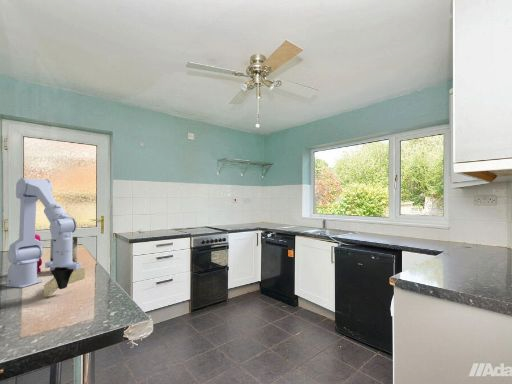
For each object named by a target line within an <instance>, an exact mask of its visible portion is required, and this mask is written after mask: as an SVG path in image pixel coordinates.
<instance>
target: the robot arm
mask: <svg viewBox="0 0 512 384" xmlns="http://www.w3.org/2000/svg"><path fill="white" fill-rule="evenodd" d="M52 191H53V183H52V182H51V180H50V179H46V178H45V179H42V178H41V179H39V178H38V179H37V178H26V177H25V178H24V177H20V178H19V179H18V180H17V182H16V184H15V197H16V198H17V199H19V200H20V201H19V203H20V205H19V208H20V210H19V228H18V229H19V230H18V239H17V240H15V241H14V242H12V243H11V244H10V245H9V248H8V252H7V259H8V262H9V263H10V265H9V266H8V268H7V283H6V284H5V285H4V287H11V288H21V289H22V288H25V287H29V286H31V285H32V286H33V285H35V284H38V283H42V282H43V279H38V273H37V261H39V259H40V258H41V259H42V257H43V253H44V249H43V246H42V245H43V244H42V241H41V240H40V241H39V240H37V239H35V234H36V223H37V221H36V217H37V216H36V215H37V202H38V200H39V201H40V202H41V204H42V206H44V209H43V213H44V215H45V217H46V218H47V220H48V222H49V223H50V224H49V231H50V235H51V239H53V261H50V260H49V261H47V262H44V268H45V269H48V268H49V269H50V268H55V269H54V270H52V271H51V273H50V274H52V275H53V278H54V277H55V279H56V282H57V285H58V288H57V289H58V290H64V289H66V288H67V287H68V285H69V284H68V281H69V278H70V276H71V274H72V272H73V271H74V270H78V269H81V268H82V263H81V262H79V263H78V262H77V263H76V262H73V261H72V239H73V237H74V236H73V233H75V231H77V222H76V219H75V218H74V217H72V216H71V215H68V214H67V212H66V210H65V209H64V208H63V205H61V204H60V203H57V202H56V200H55V197H54V195H53V193H52Z"/></svg>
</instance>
